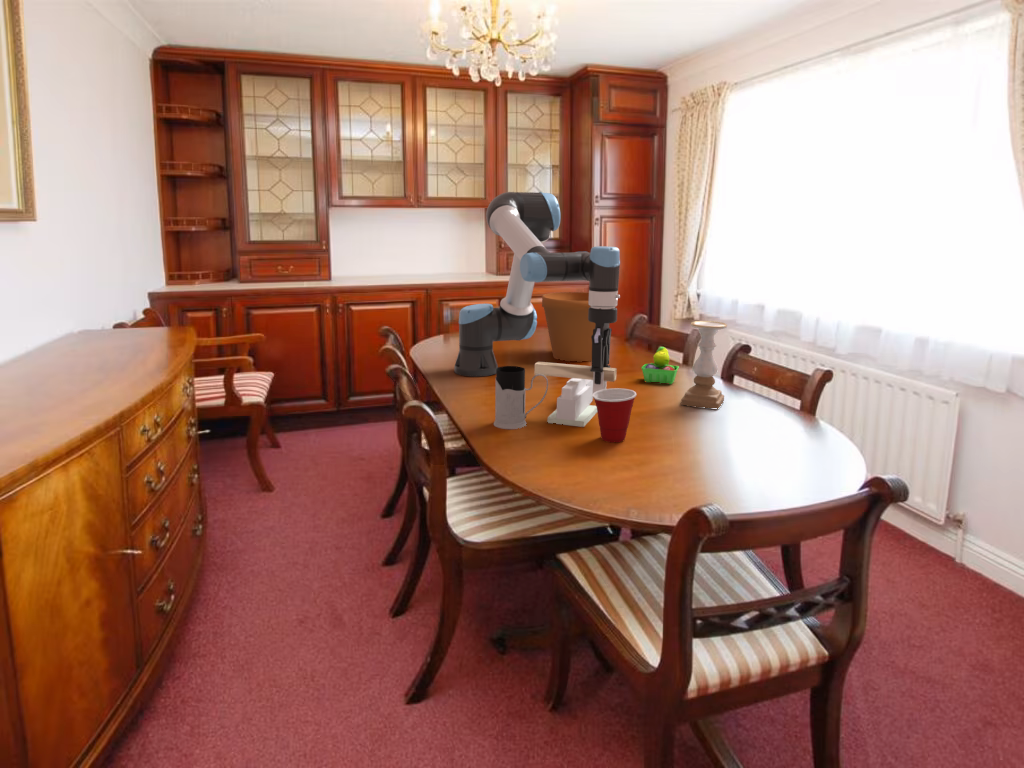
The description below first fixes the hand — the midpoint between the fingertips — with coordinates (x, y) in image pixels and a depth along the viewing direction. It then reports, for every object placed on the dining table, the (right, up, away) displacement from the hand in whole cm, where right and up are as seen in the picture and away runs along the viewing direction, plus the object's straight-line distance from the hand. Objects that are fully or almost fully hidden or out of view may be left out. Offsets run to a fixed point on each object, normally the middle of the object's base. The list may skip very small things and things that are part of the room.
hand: (599, 393), depth 187 cm
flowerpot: (+2, +13, +83) cm, 84 cm away
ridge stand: (-7, -7, +4) cm, 10 cm away
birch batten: (-6, +4, +1) cm, 8 cm away
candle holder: (+33, -3, +19) cm, 38 cm away
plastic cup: (+1, -11, -14) cm, 18 cm away
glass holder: (-21, -8, -3) cm, 23 cm away
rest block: (-4, -3, +17) cm, 18 cm away
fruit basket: (+26, +3, +45) cm, 52 cm away
